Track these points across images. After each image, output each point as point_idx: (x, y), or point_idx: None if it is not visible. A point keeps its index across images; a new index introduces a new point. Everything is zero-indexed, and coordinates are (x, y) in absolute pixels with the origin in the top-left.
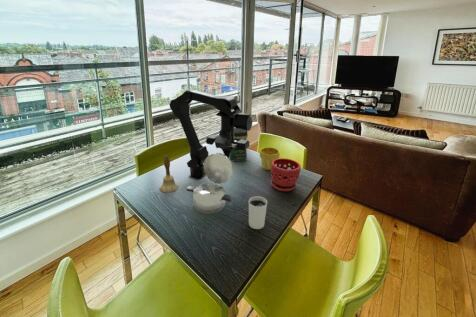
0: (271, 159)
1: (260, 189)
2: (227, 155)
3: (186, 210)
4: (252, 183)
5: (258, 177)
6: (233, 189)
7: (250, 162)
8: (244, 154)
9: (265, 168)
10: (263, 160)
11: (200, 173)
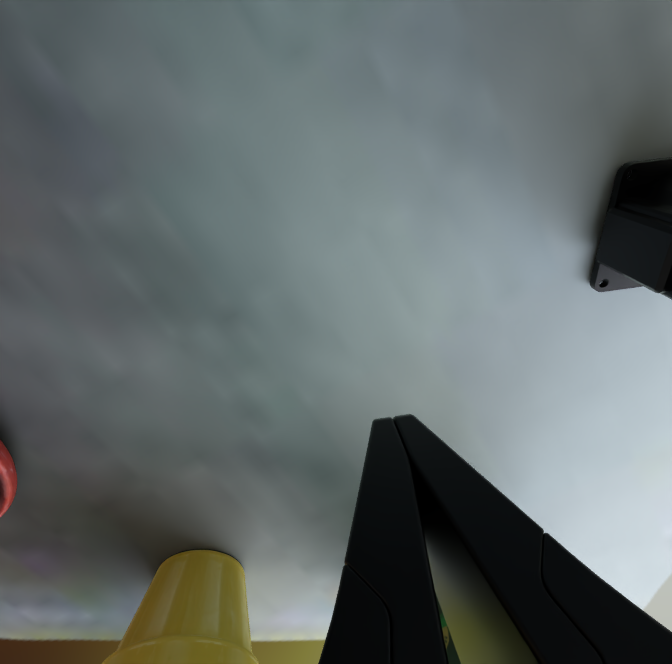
0: (115, 662)
1: (15, 320)
2: (399, 511)
3: None
4: (146, 365)
5: (169, 455)
6: (221, 184)
7: (340, 562)
8: None
9: (198, 556)
10: (200, 621)
11: (660, 208)
